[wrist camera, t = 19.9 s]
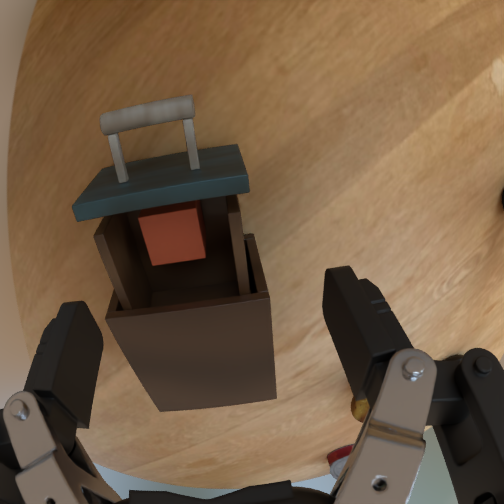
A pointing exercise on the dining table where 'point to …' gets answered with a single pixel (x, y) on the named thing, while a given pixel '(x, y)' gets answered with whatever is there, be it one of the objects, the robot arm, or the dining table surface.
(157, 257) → the block
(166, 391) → the cabinet
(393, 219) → the dining table surface
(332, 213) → the dining table surface
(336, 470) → the canned food
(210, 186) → the drawer
